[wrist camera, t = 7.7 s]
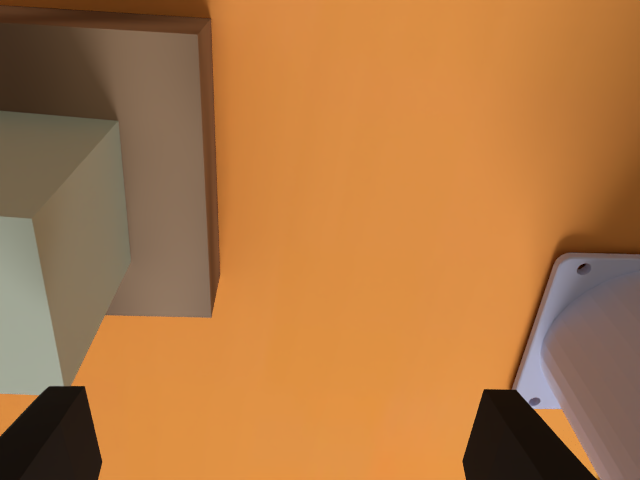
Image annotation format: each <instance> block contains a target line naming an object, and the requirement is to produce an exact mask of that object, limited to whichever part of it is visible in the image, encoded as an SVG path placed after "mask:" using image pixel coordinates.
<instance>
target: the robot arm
mask: <svg viewBox="0 0 640 480" xmlns="http://www.w3.org/2000/svg"><path fill="white" fill-rule="evenodd" d="M585 263H586V264H585ZM582 264H585V266H584V267H582V268H581V269H578V267H579V266H580V265H582ZM534 409H562V410H563V412H564V414H565V416H566V418H567V419H568V421H569V423H570V425H571V427H572V428H573V430H574V432H575V434H576V436H577V438H578V439H579V441H580V443H581V445H582V447H583V449H584V450H585V452H586V454H587V456H588V458H589V459H590V461H591V463H592V465H593V467H594V469H595V470H596V472H597V474H598V476H599V478H600V479H601V480H640V254H605V253H565V254H563V255H561V256H560V257H559V258H557V259H556V261H555V263H554V265H553V268H552V271H551V274H550V277H549V280H548V283H547V286H546V289H545V292H544V295H543V298H542V301H541V304H540V307H539V310H538V313H537V316H536V319H535V322H534V325H533V328H532V331H531V334H530V337H529V340H528V343H527V346H526V348H525V351H524V354H523V357H522V360H521V363H520V366H519V369H518V372H517V375H516V378H515V381H514V384H513V387H512V390H493V389H484V391H483V394H482V398H481V401H480V404H479V408H478V411H477V414H476V418H475V421H474V424H473V428H472V431H471V434H470V438H469V441H468V444H467V448H466V451H465V454H464V458H463V466H464V471H465V476H466V480H597V479H596V478H595V477H594V476H593V475H592V474H591V473H590V472H589V470H588V469H587V468H586V467H585V466H584V465H583V464H582V463H581V462H580V461H579V460H578V458H577V457H576V456H575V455H574V454H573V453H572V452H571V451H570V450H569V448H568V447H567V446H566V445H565V444H564V443H563V442H562V441H561V440H560V438H559V437H558V436H557V435H556V434H555V433H554V432H553V431H552V429H551V428H550V427H549V426H548V425H547V424H546V423H545V422H544V420H543V419H542V418H541V417H540V416H539V415H538V414H537V413H536V411H535V410H534ZM101 465H102V459H101V454H100V450H99V446H98V441H97V437H96V433H95V429H94V424H93V420H92V416H91V411H90V407H89V403H88V399H87V394H86V390H85V386H49V387H48V388H46V389H45V390H44V391H43V392H42V393H41V394H40V395H39V396H38V397H37V398H36V399H35V400H34V401H33V402H32V404H31V405H30V406H29V407H28V408H27V409H26V410H25V411H24V412H23V413H22V414H21V415H20V416H19V417H18V418H17V419H16V420H15V421H14V423H13V424H12V425H11V426H10V427H9V428H8V429H7V430H6V431H5V432H4V433H3V434H2V435H1V436H0V480H98V477H99V473H100V469H101Z"/></svg>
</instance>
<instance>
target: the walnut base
mask: <svg viewBox="0 0 640 480" xmlns="http://www.w3.org/2000/svg"><path fill="white" fill-rule="evenodd" d="M0 111H10V112H21V113H33V114H45V115H57V116H68V117H80V118H92V119H103V120H115V121H118V122H119V133H120V144H121V156H122V167H123V178H124V189H125V200H126V211H127V222H128V234H129V245H130V256H131V262H130V264H129V266H128V269H127V271H126V273H125V275H124V277H123V279H122V281H121V283H120V285H119V287H118V289H117V291H116V293H115V295H114V298H113V300H112V302H111V304H110V306H109V308H108V310H107V312H106V314H105V315H123V316H165V317H207V318H211V317H212V312H213V307H214V302H215V297H216V292H217V287H218V283H219V278H220V258H219V230H218V202H217V174H216V146H215V118H214V90H213V62H212V34H211V18H196V17H180V16H164V15H148V14H132V13H116V12H101V11H85V10H69V9H53V8H37V7H21V6H5V5H0Z"/></svg>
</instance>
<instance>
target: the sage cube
mask: <svg viewBox="0 0 640 480" xmlns="http://www.w3.org/2000/svg"><path fill="white" fill-rule="evenodd" d="M130 262H131V256H130V245H129V234H128V222H127V211H126V200H125V189H124V178H123V167H122V156H121V144H120V133H119V122H118V121H115V120H103V119H92V118H80V117H68V116H57V115H45V114H33V113H21V112H10V111H0V393H2V394H25V395H40V394H41V393H42V392H43V391H44V390H45V389H46V388H48V387H49V386H71V384H72V382H73V380H74V378H75V376H76V374H77V372H78V370H79V368H80V366H81V364H82V362H83V360H84V358H85V355H86V353H87V351H88V349H89V347H90V345H91V343H92V341H93V339H94V337H95V335H96V333H97V331H98V329H99V327H100V324H101V322H102V320H103V318H104V316H105V314H106V312H107V310H108V308H109V306H110V304H111V302H112V300H113V298H114V295H115V293H116V291H117V289H118V287H119V285H120V283H121V281H122V279H123V277H124V275H125V273H126V271H127V269H128V266H129V264H130Z"/></svg>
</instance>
